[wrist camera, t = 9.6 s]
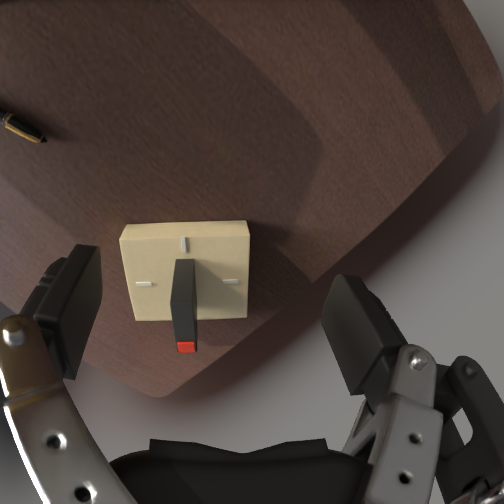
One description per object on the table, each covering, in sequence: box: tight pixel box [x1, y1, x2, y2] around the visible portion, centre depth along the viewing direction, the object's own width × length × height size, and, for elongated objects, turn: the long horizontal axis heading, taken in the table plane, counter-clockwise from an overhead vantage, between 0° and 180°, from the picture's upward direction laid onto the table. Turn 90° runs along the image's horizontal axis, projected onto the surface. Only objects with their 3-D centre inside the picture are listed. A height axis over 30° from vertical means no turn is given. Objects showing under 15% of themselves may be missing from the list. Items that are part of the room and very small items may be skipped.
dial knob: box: [170, 259, 197, 353], centre depth 25 cm, size 5×2×6 cm, turn 177°
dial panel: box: [119, 220, 250, 321], centre depth 29 cm, size 11×9×3 cm
